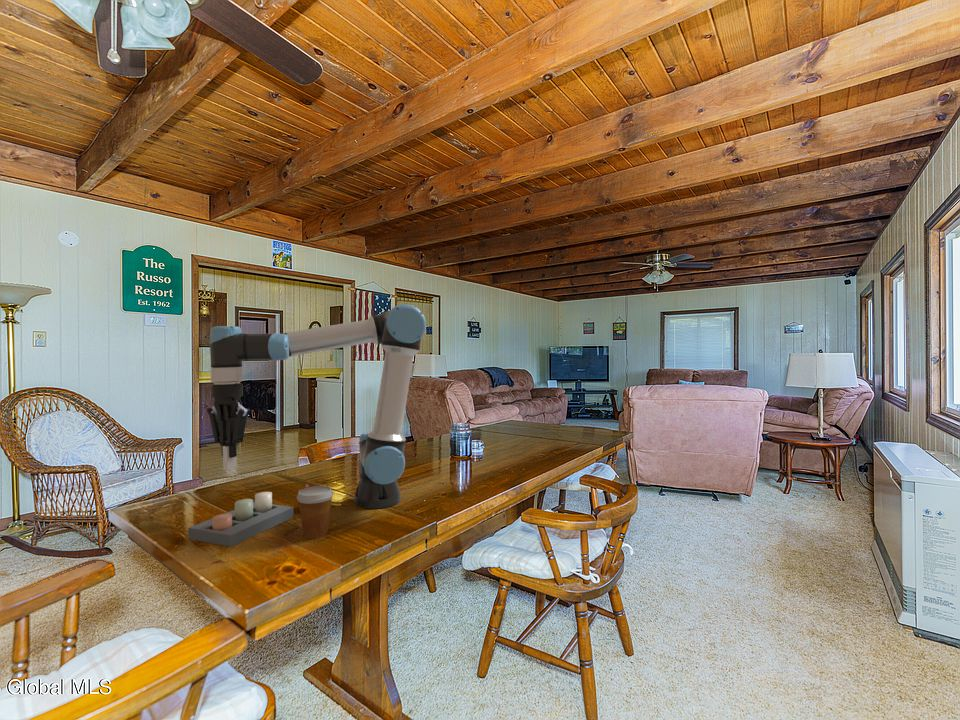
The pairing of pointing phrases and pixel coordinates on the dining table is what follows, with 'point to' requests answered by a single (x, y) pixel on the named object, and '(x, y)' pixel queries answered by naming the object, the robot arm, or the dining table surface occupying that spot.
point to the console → (241, 526)
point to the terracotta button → (222, 522)
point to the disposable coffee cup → (315, 510)
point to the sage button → (243, 509)
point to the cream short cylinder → (263, 502)
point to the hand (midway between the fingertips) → (229, 468)
